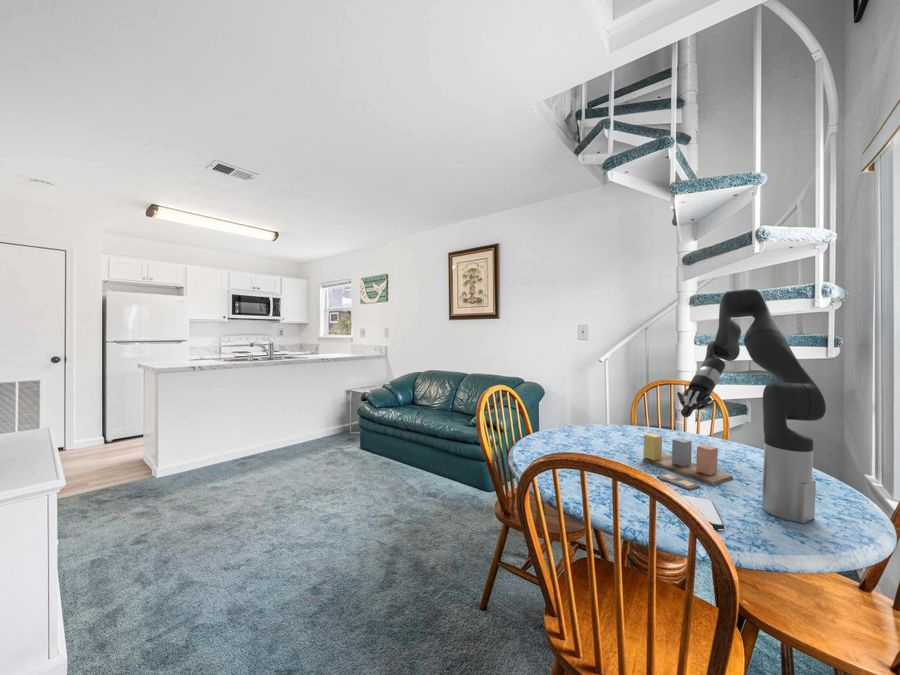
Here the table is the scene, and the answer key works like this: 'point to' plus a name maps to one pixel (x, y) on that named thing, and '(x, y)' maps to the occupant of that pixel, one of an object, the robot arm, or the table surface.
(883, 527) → the table surface
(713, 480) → the keypad base
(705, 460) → the salmon pink block
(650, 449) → the yellow tall block
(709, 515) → the phone case
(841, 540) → the table surface
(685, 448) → the grey rectangular block
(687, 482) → the card
